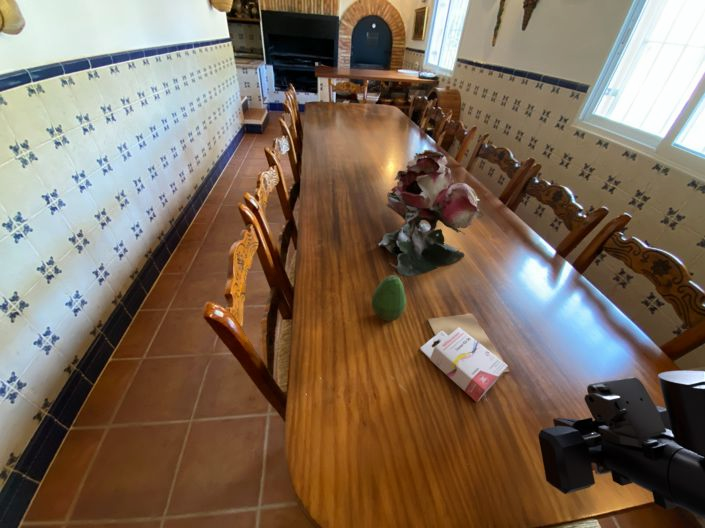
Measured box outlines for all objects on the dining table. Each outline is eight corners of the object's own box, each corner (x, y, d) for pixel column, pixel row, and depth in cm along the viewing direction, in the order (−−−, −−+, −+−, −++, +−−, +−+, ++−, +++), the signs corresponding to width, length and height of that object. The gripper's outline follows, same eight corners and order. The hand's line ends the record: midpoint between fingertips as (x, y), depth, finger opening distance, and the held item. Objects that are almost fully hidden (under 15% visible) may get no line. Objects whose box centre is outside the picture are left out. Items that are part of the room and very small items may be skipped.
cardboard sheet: (509, 372, 62) (510, 371, 62) (457, 381, 60) (458, 379, 60) (471, 314, 74) (471, 313, 74) (427, 320, 72) (427, 318, 72)
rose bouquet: (477, 254, 94) (516, 161, 75) (404, 282, 82) (429, 179, 63) (424, 216, 111) (445, 132, 92) (357, 234, 98) (365, 142, 79)
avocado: (395, 301, 76) (403, 265, 69) (406, 325, 70) (417, 289, 63) (365, 305, 74) (370, 269, 67) (374, 330, 69) (381, 294, 61)
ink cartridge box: (485, 390, 53) (422, 336, 61) (476, 403, 56) (417, 350, 65) (509, 364, 58) (447, 317, 66) (499, 377, 61) (441, 331, 69)
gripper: (735, 379, 32) (594, 357, 47) (595, 408, 28) (491, 375, 44) (765, 491, 31) (610, 431, 46) (622, 537, 27) (504, 456, 42)
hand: (555, 421), depth 44 cm, fingers closed
